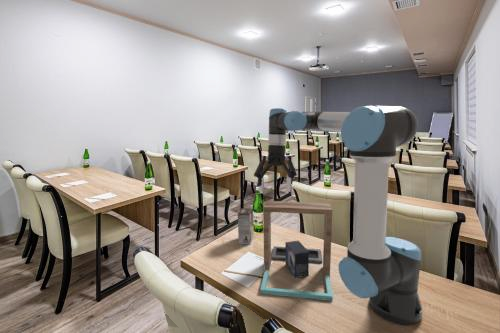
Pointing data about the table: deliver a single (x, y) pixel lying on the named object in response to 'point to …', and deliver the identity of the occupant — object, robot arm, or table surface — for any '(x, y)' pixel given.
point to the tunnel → (305, 209)
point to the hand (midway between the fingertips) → (275, 192)
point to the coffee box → (245, 226)
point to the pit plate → (314, 254)
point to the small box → (297, 259)
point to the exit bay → (294, 292)
